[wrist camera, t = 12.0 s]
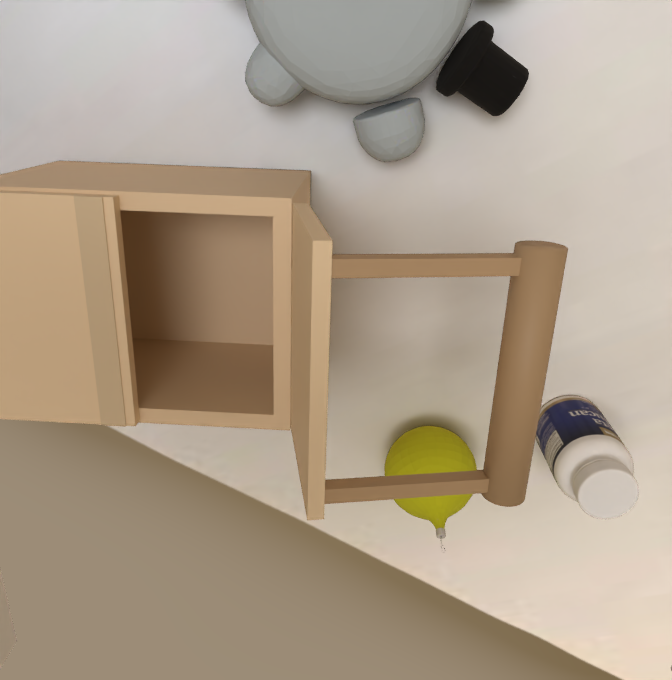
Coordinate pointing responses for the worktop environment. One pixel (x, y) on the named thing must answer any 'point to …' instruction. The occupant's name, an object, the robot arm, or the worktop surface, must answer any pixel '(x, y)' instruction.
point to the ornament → (430, 470)
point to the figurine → (378, 61)
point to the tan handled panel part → (511, 382)
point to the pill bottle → (587, 457)
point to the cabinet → (147, 294)
